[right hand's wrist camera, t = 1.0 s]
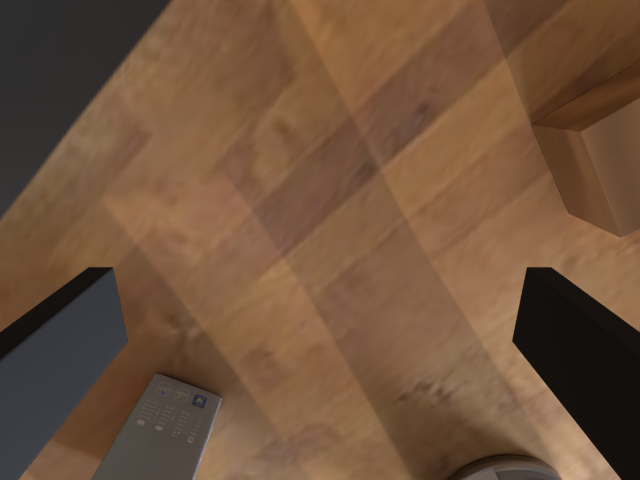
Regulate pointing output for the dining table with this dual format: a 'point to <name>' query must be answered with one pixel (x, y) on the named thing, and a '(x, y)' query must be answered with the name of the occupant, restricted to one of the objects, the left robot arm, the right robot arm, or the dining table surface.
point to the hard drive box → (162, 434)
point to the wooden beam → (598, 153)
